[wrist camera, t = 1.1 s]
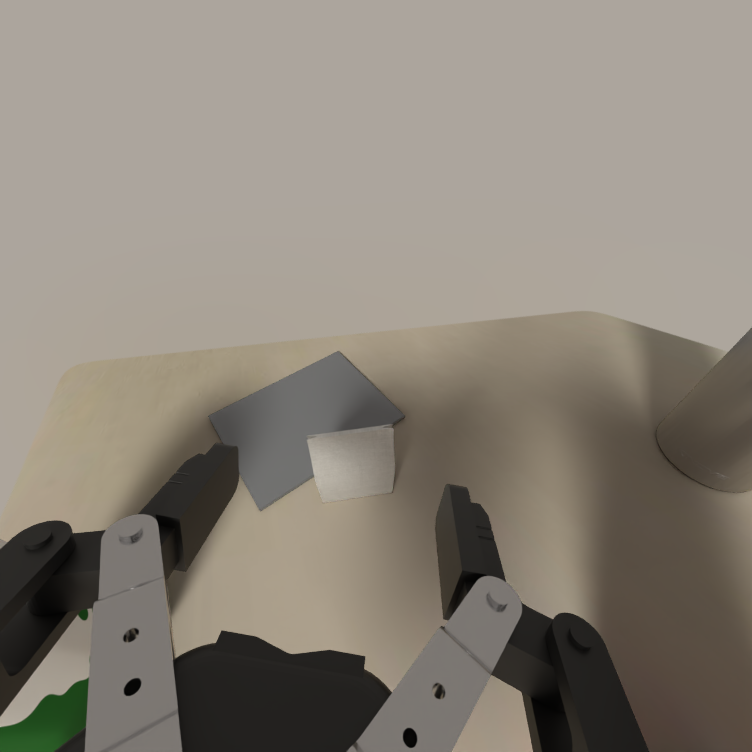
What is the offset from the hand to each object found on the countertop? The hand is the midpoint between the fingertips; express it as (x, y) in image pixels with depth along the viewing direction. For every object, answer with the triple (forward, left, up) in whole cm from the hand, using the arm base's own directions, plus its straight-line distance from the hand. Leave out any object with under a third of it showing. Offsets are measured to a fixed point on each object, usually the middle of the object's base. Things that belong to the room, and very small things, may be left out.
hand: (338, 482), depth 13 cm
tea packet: (-6, -9, -20) cm, 23 cm away
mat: (-6, -19, -20) cm, 28 cm away
